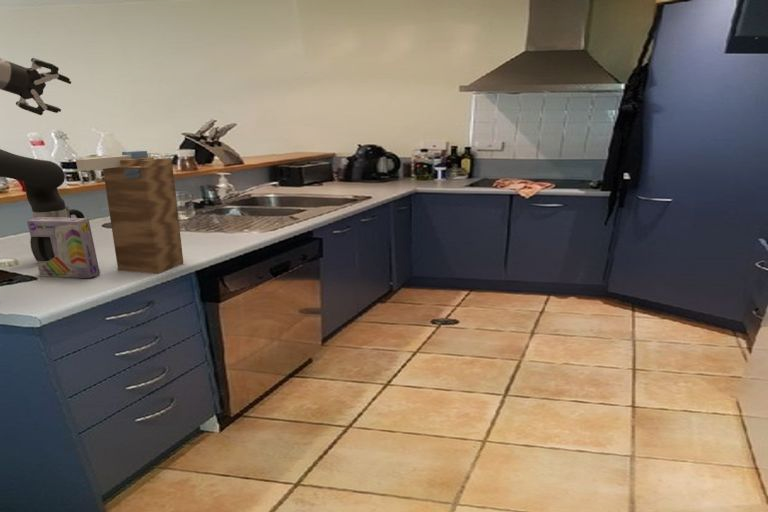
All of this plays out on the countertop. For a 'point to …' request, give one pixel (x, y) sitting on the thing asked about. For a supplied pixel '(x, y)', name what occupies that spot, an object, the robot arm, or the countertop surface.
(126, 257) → the wood grain block
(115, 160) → the cream and blue bar
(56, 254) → the cake pan box
